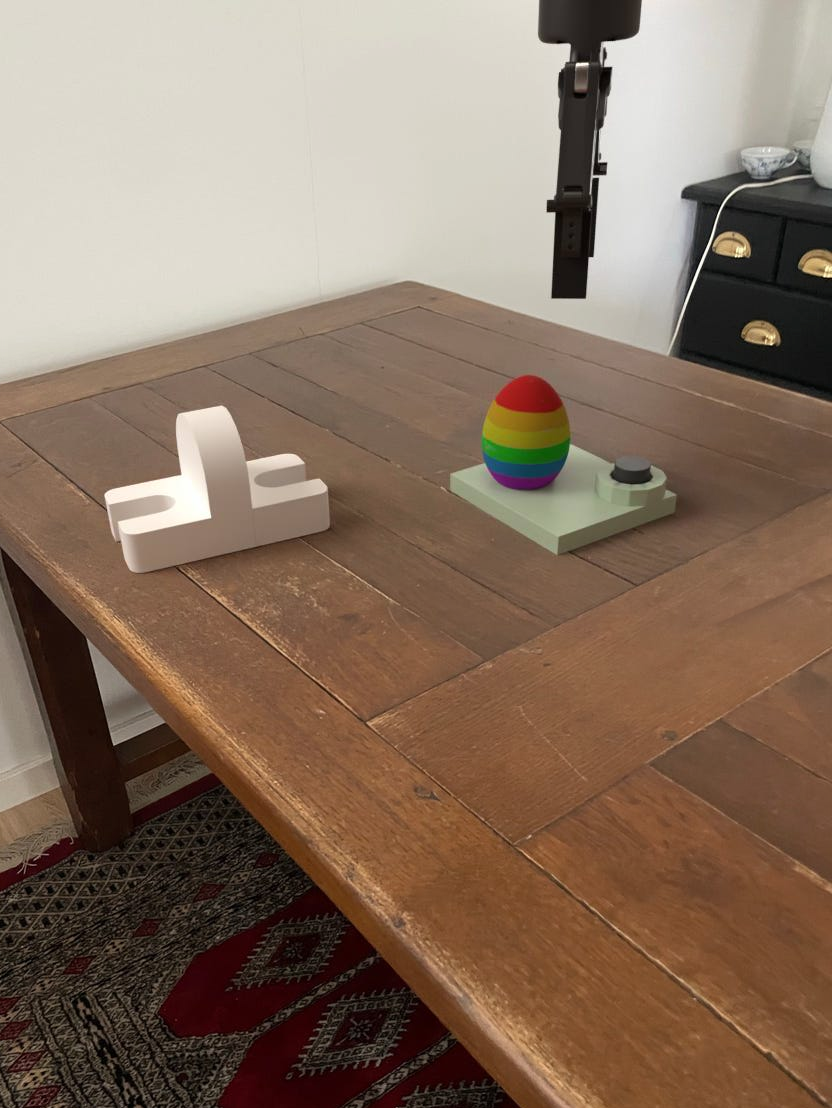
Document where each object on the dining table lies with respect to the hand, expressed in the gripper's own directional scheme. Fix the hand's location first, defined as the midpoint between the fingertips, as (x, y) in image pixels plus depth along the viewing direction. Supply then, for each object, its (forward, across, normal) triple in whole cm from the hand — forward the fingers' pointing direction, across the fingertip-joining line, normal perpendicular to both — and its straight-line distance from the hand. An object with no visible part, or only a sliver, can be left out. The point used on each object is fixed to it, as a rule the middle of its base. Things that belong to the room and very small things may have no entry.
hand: (573, 276), depth 87 cm
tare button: (+18, +2, +6) cm, 19 cm away
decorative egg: (+19, 0, -4) cm, 19 cm away
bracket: (+20, +11, -31) cm, 39 cm away
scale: (+21, +1, 0) cm, 21 cm away
